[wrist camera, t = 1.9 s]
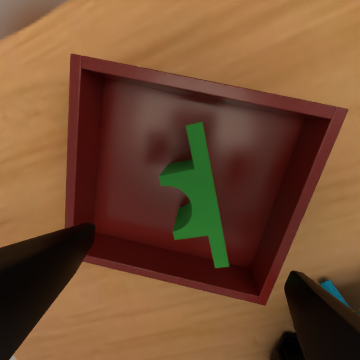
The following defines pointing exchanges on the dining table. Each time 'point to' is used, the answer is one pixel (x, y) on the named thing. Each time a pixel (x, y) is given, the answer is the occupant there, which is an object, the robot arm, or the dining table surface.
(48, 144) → the dining table surface
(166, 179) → the pipe clamp
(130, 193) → the open red box
